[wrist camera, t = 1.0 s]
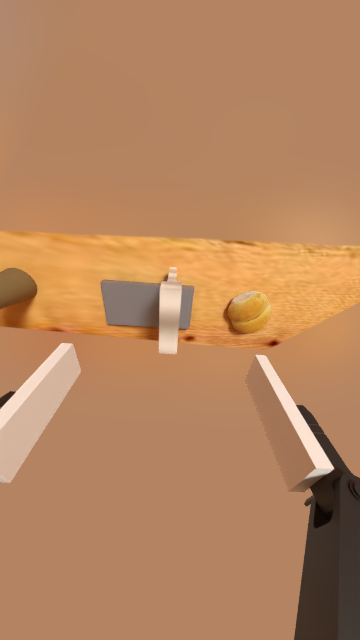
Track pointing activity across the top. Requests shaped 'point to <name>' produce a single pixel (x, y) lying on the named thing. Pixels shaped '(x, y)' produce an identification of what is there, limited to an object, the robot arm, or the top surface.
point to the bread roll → (249, 312)
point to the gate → (169, 313)
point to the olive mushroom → (15, 287)
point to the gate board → (140, 303)
